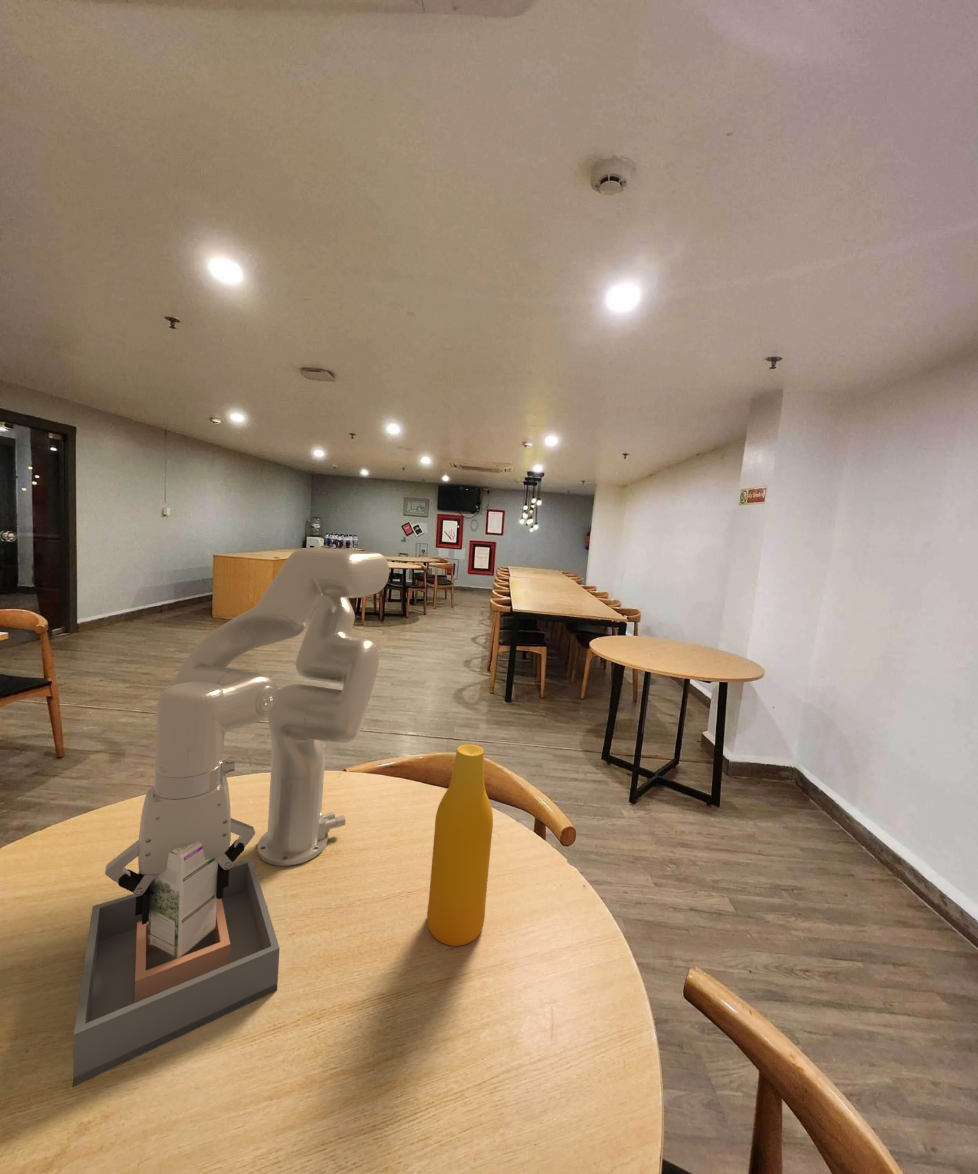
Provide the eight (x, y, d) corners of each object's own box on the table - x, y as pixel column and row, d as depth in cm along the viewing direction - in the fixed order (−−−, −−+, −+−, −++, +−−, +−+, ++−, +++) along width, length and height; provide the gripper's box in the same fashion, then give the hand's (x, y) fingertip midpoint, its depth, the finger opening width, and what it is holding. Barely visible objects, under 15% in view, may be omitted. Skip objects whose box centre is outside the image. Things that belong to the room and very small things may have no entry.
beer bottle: (493, 917, 75) (509, 748, 73) (464, 959, 67) (481, 770, 65) (447, 893, 79) (460, 733, 77) (414, 930, 71) (429, 751, 69)
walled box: (250, 892, 76) (252, 858, 75) (277, 990, 60) (279, 948, 59) (91, 946, 64) (92, 906, 63) (72, 1087, 48) (73, 1035, 47)
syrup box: (217, 927, 63) (222, 828, 62) (175, 962, 58) (180, 853, 57) (187, 914, 65) (192, 817, 64) (144, 946, 59) (148, 840, 58)
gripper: (256, 753, 68) (250, 865, 69) (105, 780, 57) (100, 911, 59) (267, 775, 62) (260, 897, 63) (100, 809, 52) (95, 955, 53)
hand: (183, 903), depth 61 cm, fingers closed on syrup box, 7 cm apart
